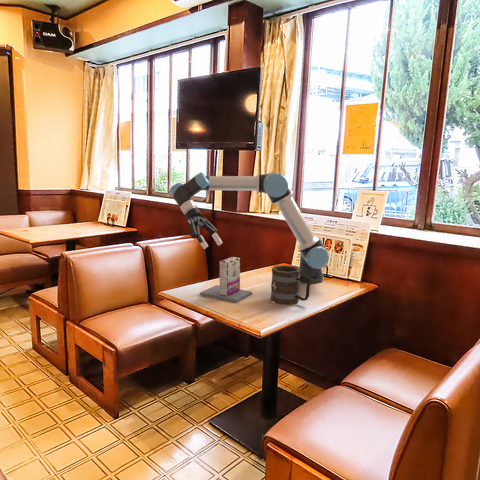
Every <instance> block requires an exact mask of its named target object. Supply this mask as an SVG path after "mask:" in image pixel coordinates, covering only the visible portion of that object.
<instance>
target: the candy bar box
mask: <svg viewBox="0 0 480 480" xmlns="http://www.w3.org/2000/svg"><path fill="white" fill-rule="evenodd" d="M240 279H241V257H236V256H230V257H227V258H225V259H221V260H219V286H220V295H224V296H229V295H231V294H233V293H235V292H238V291H239V290H240V289H241V280H240Z"/></svg>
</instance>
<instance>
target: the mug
mask: <svg viewBox="0 0 480 480" xmlns="http://www.w3.org/2000/svg"><path fill="white" fill-rule="evenodd" d="M300 271H301V269H299V267H296V266H292V265H277V266H273V267H272V268H271V275H272V276H271V283H270V284H271V291H270V292H271V293H270V294H271V296H270V301H271V302H273V303H274V302H275V304H277V305H285V306H290V305H297V304H298V303H299V302H300V301H302V302H304V301H307V300H308V299H309V297H310V290H311V284H312V283H311V282H310V278H309V277H308V276H307V275H304V276H301V277H300ZM303 278H306V279H307V283H306V287H305V288H306V289H305V296H304V297H303V296H301V295H300V286H301V281H300V280H302V279H303Z"/></svg>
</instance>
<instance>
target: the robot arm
mask: <svg viewBox="0 0 480 480" xmlns="http://www.w3.org/2000/svg"><path fill="white" fill-rule="evenodd" d="M201 191H238V192H239V191H244V192H245V191H246V192H248V191H253V192H254V191H256V192H257V193H258V194H259V193H263V194H267V197H268V198H269V200H270V201H271V204H273V205H275V206H277V208H278V209H279V211H280V213H281V214H282V217H283V218H284V220H285V221H286V223H287V225H288V227H289V228H290V231H291V232H292V233H293V235H294V237H295V239H296V241H297V242H298V244H299V247H298V250H299V252H300V254H299V266H298V268H299V269H301V271H300V277H301V276H304V275H307V276H308V277H309V278H310V282H311V283H310V284H317V283H322V282H324V273H323V270H322V268H324V267H325V266H326V265H327V264H328V263H329V260H330V255H329V251H328V250H327V249H326V248H325V246H324V244H323V243H324V242H323V239H320V238H319V237H317V236H315V234H314V233H313V232H312V230H311V228H310V226H309V224H308V223H307V221H306V219H305V217H304V215H303V214H302V212H301V210H300V208H299V206H298V204H297V203H296V201H295V200H294V198H293V193H294V192H293V189H292V188H291V186H290V184H289V181H288V179H287V177H286V176H285V175H284V174H282V173H281V172H269V173H263V174H257V175H256V176H254V175H246V176H245V175H243V176H242V175H237V176H236V175H235V176H234V175H231V176H230V175H221V176H220V175H205V174H204V173H203V172H199V173H198V174H195V176H193V177H192V178H191V179H189V180H188V181H186V182H185V183H184V184H183V183H182V182H177V183H175V184H173V185H172V186H171V187H170V188H169V192H170V194H171V196H172V199H173V200H174V202H176V204H177V206H178V207H179V208H180V210H181V212H182V213H183V215H184V216H185V218H186V220H187V221H186V223H187V224H188V228H189V232H190V234H191V237H192V238H193V239H195V240H196V239H197V241H198V243H199V244H200V246H201V247H202V249H203V250H206V249H207V248H208V247H209V245H208V243H207V242H206V240H205V238H204V236H203V235H202V234H201V233H200V228H202V229H204V230H205V231H207V232H208V233H210V234H211V237H212V238H213V241H215V243H216V245H217V246H221V245H222V244H223V241H222V239H221V238H220V236H219V234H218V233H217V232H218V229H217V228H216V227H215V226H214V225H213V224H212V223H211V222H210V221H209V220H208V219H207V218H206V216H203V217H202V216H201V215H202V212H201V211H200V209H199V208H198V207H197V205H196V203H195V201H194V199H193V198H192V197H194V196H195V195H197V194H199V193H200V192H201ZM300 283H306V284H307V279H306V278H303V279H302V280H300Z"/></svg>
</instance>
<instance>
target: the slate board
mask: <svg viewBox="0 0 480 480" xmlns="http://www.w3.org/2000/svg"><path fill="white" fill-rule="evenodd" d="M252 294H253V291H250V290H245V289H241V288H240V290H239V291H238V292H235V293H233V294H231V295H229V296H224V295H220V284H219V285H218V284H215V285H214V286H212V287H209V288H207V289H205V290H203V291H200V292H199V296H201V297H206V298H210V299H215V300H219V301H226V302H231V303H234V304H238V303H239V302H241V301H242V300H244V299H246V298H247V297H250V296H252Z"/></svg>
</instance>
